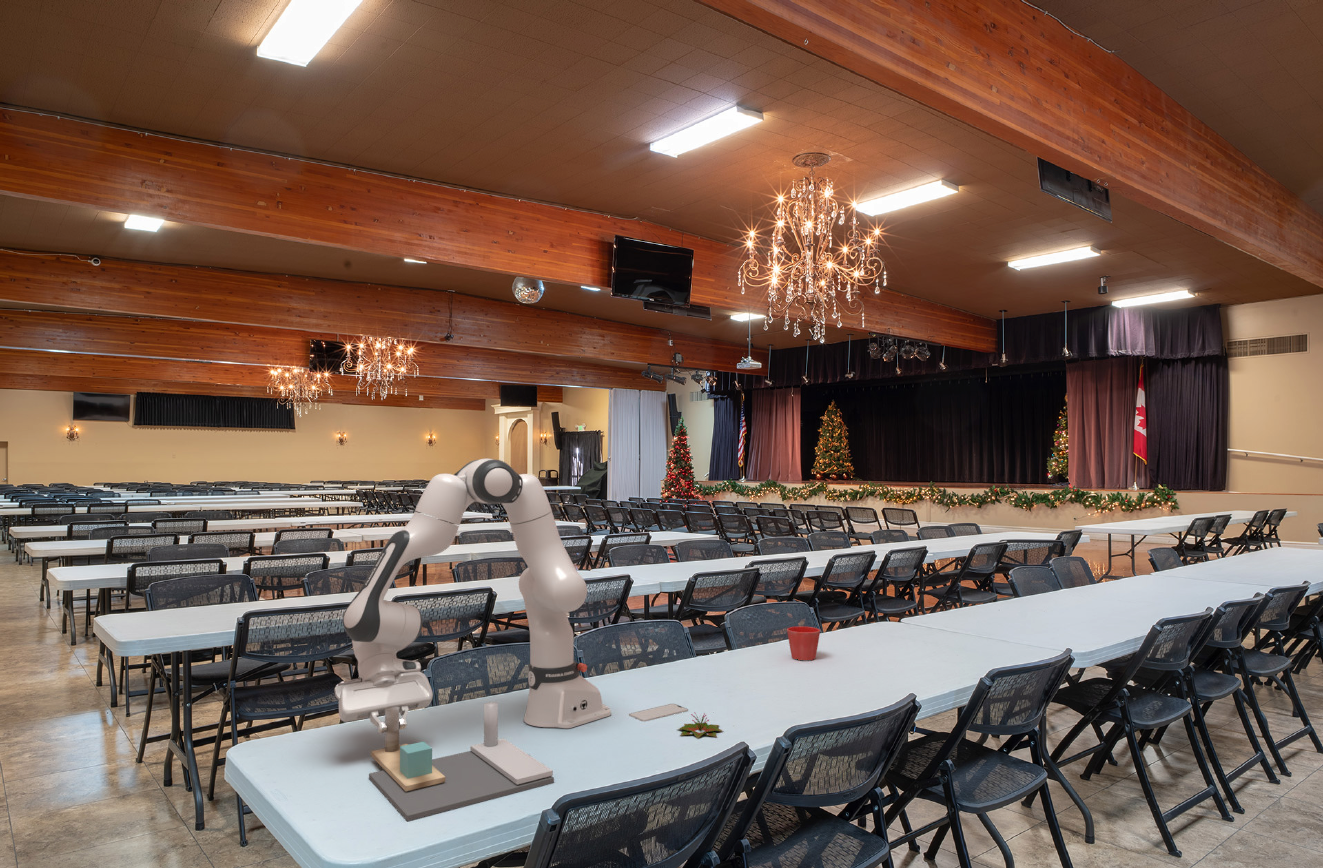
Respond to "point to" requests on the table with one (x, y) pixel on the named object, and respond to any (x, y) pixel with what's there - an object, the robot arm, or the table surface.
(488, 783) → the lane mat
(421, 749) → the teal block
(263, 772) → the table surface
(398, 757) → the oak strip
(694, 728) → the lily flower
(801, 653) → the flower pot
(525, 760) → the pale board with post
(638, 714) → the smartphone
